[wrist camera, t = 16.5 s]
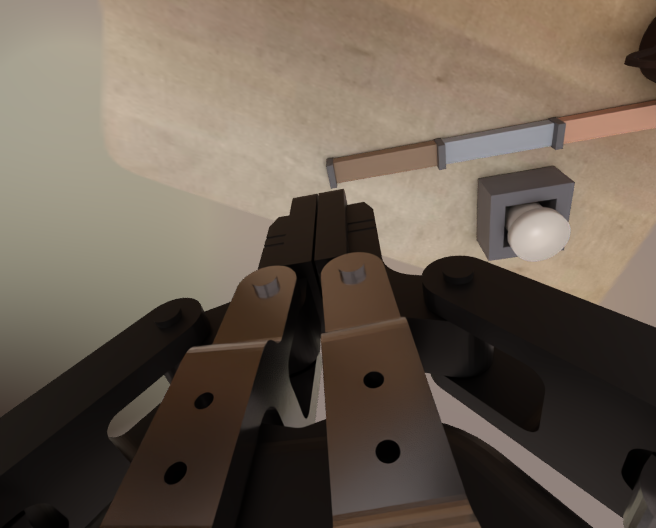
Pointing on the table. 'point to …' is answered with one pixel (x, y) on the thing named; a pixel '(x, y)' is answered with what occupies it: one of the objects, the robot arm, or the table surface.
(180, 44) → the table surface
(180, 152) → the table surface
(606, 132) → the terracotta segment
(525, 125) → the slate segment
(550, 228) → the dome plunger
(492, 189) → the dome housing
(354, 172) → the walnut segment
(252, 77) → the table surface
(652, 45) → the coffee mug
